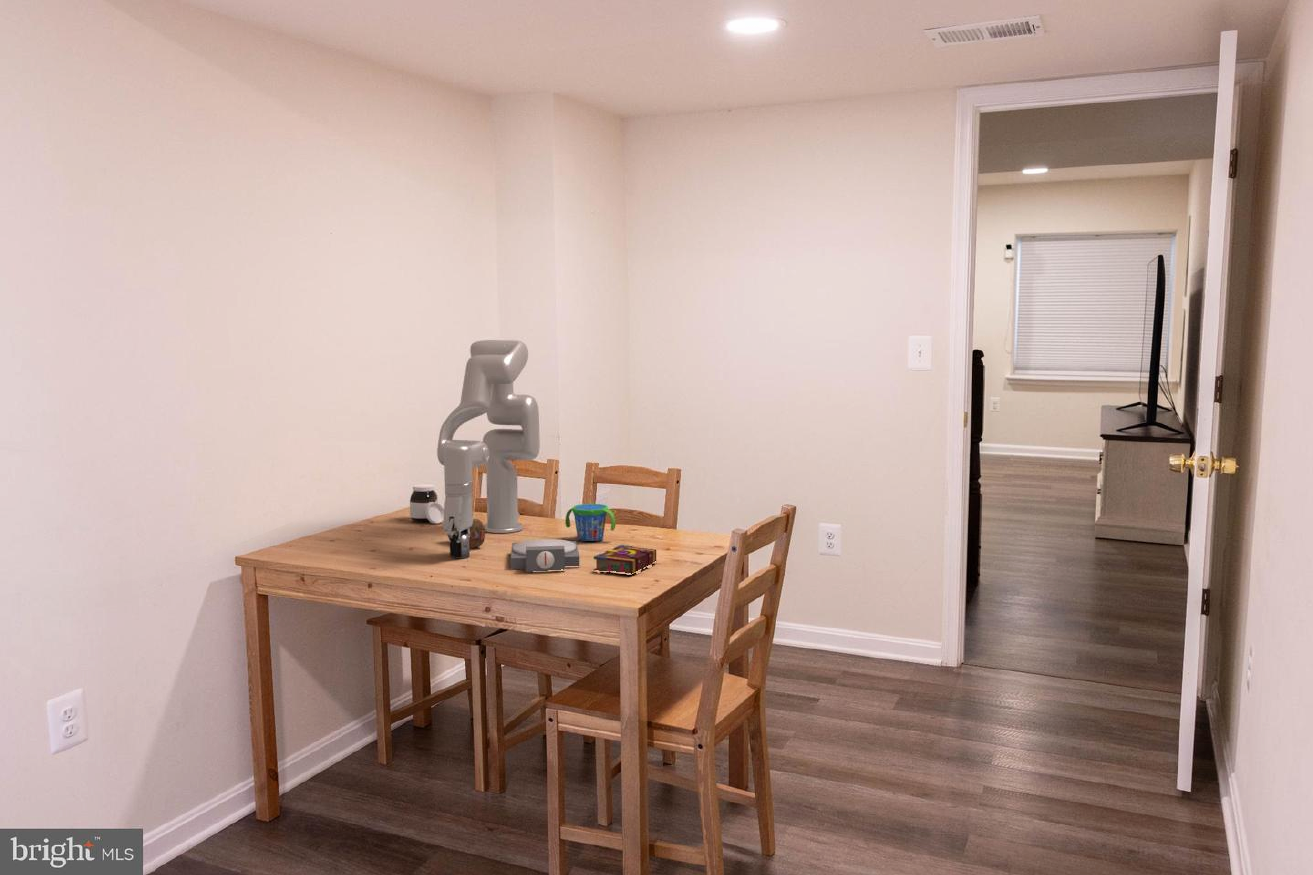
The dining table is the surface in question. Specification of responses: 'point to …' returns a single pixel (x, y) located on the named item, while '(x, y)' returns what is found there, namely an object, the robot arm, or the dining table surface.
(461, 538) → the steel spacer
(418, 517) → the spread jar
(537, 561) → the scale
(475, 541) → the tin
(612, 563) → the decorative book
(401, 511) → the dining table surface
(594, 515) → the snack cup
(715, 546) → the dining table surface
